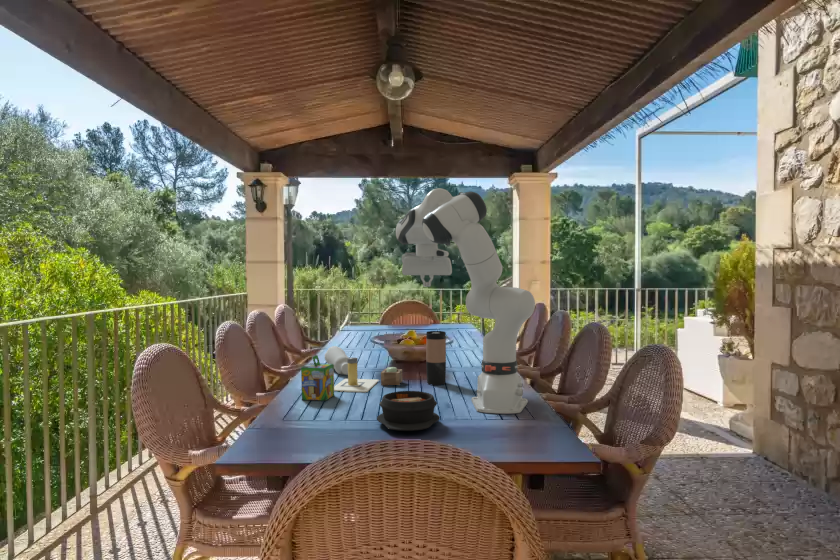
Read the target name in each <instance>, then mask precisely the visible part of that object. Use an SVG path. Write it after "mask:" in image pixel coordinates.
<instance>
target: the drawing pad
mask: <svg viewBox="0 0 840 560" xmlns="http://www.w3.org/2000/svg"><path fill="white" fill-rule="evenodd" d="M378 381H379V382H380V379H371V378H364V379H363V378H358V384H357V385H348V378H343V380H341V381H340V382H338V383H337V384H336V385H334V391H340V392H339V393H366V392H367V393H368V392H369V391H371V389H372V388H373V387H374V386H375V385H377V384H378V383H379V382H378ZM377 382H378V383H377ZM343 391H344V392H343Z"/></svg>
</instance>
